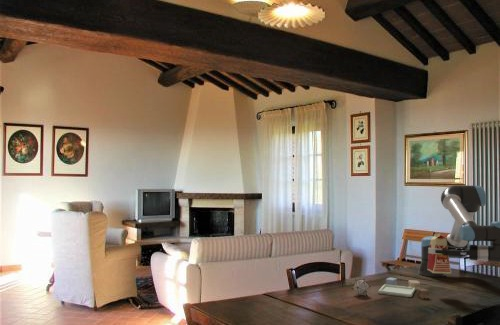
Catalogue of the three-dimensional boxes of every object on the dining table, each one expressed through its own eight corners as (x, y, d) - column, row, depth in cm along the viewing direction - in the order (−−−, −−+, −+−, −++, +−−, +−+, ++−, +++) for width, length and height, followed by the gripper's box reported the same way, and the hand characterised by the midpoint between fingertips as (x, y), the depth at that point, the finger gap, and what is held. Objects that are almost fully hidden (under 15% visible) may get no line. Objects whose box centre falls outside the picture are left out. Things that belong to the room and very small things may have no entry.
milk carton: (451, 273, 226) (451, 233, 226) (433, 273, 226) (432, 233, 227) (444, 269, 235) (444, 231, 236) (426, 269, 235) (426, 231, 236)
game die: (364, 303, 226) (371, 290, 221) (348, 296, 228) (354, 283, 222) (367, 291, 234) (374, 278, 228) (351, 284, 235) (357, 271, 230)
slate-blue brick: (389, 284, 253) (389, 277, 253) (396, 285, 250) (396, 278, 251) (385, 286, 248) (385, 279, 248) (393, 287, 246) (393, 280, 246)
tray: (384, 287, 246) (384, 284, 246) (415, 290, 239) (415, 287, 239) (378, 293, 232) (378, 290, 232) (411, 297, 225) (411, 294, 225)
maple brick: (408, 287, 246) (408, 280, 246) (418, 288, 245) (417, 280, 245) (410, 289, 241) (410, 282, 241) (420, 290, 240) (420, 282, 240)
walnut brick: (416, 296, 227) (416, 288, 227) (423, 296, 228) (423, 288, 228) (421, 298, 223) (421, 290, 223) (428, 298, 224) (428, 290, 224)
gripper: (478, 264, 213) (427, 259, 223) (478, 257, 232) (431, 253, 242) (478, 248, 213) (427, 244, 223) (477, 242, 233) (431, 239, 243)
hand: (429, 249), depth 233 cm, fingers closed on milk carton, 9 cm apart
